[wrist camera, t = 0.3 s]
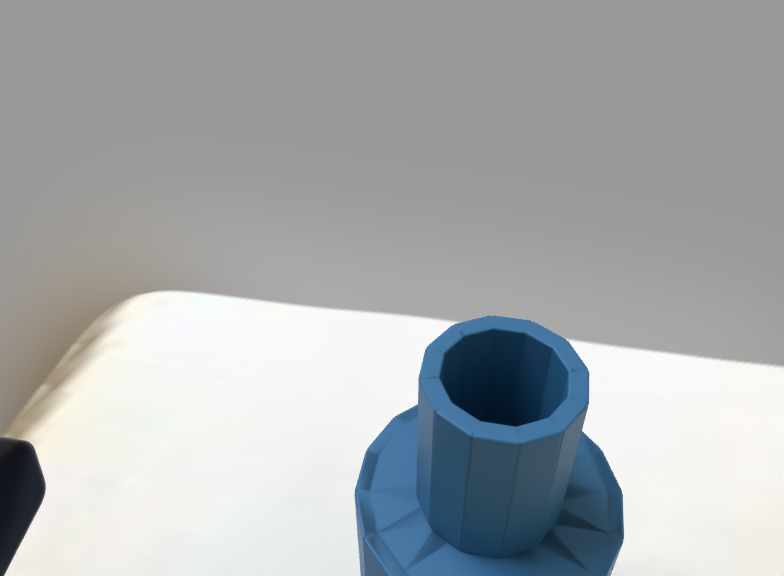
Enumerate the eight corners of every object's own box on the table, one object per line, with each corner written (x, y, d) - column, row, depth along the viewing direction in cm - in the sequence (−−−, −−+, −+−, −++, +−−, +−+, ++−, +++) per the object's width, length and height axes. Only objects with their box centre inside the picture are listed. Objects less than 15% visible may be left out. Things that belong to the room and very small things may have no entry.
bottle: (555, 800, 21) (679, 543, 12) (349, 752, 22) (309, 478, 12) (563, 596, 25) (656, 291, 16) (391, 564, 26) (384, 257, 17)
